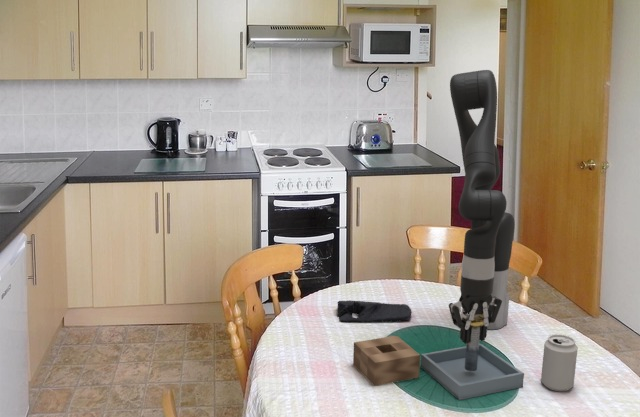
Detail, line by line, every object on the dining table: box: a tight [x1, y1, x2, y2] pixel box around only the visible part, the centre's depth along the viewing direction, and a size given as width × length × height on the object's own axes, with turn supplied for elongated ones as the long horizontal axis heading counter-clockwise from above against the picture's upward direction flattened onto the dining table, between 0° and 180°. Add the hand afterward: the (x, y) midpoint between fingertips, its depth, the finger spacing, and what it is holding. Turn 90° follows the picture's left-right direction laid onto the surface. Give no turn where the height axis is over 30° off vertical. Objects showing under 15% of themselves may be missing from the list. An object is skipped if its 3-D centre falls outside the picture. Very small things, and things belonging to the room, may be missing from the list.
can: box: [540, 333, 579, 392], centre depth 172 cm, size 8×8×12 cm
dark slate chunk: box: [337, 300, 413, 323], centre depth 214 cm, size 15×22×5 cm
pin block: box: [352, 335, 421, 387], centre depth 179 cm, size 12×12×6 cm
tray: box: [420, 343, 525, 401], centre depth 177 cm, size 18×18×4 cm
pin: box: [464, 316, 484, 371], centre depth 175 cm, size 4×4×13 cm
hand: (472, 340), depth 175 cm, fingers closed on pin, 4 cm apart
